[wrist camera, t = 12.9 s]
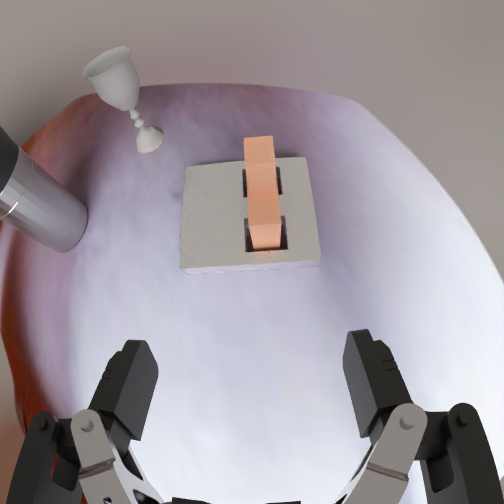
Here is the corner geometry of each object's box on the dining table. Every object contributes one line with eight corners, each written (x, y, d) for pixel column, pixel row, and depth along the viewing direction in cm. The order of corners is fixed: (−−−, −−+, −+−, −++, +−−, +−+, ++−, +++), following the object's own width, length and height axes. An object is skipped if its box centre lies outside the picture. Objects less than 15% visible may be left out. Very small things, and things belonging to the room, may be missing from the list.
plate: (187, 274, 34) (179, 268, 31) (191, 178, 38) (185, 167, 35) (317, 266, 33) (321, 259, 30) (303, 169, 37) (305, 156, 34)
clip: (254, 254, 34) (242, 199, 21) (251, 187, 37) (239, 113, 24) (279, 252, 34) (282, 196, 21) (273, 186, 37) (271, 111, 23)
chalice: (125, 158, 41) (72, 83, 24) (139, 128, 43) (97, 53, 26) (162, 157, 40) (115, 70, 23) (175, 126, 42) (139, 41, 25)
